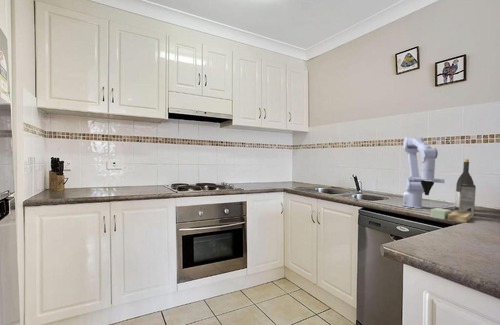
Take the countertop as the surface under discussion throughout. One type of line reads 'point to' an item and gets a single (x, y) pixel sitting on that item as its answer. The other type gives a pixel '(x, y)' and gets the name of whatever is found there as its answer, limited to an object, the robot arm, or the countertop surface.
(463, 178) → the wine bottle
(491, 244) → the countertop surface
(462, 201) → the coffee box
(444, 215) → the sage block
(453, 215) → the bamboo board
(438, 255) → the countertop surface
